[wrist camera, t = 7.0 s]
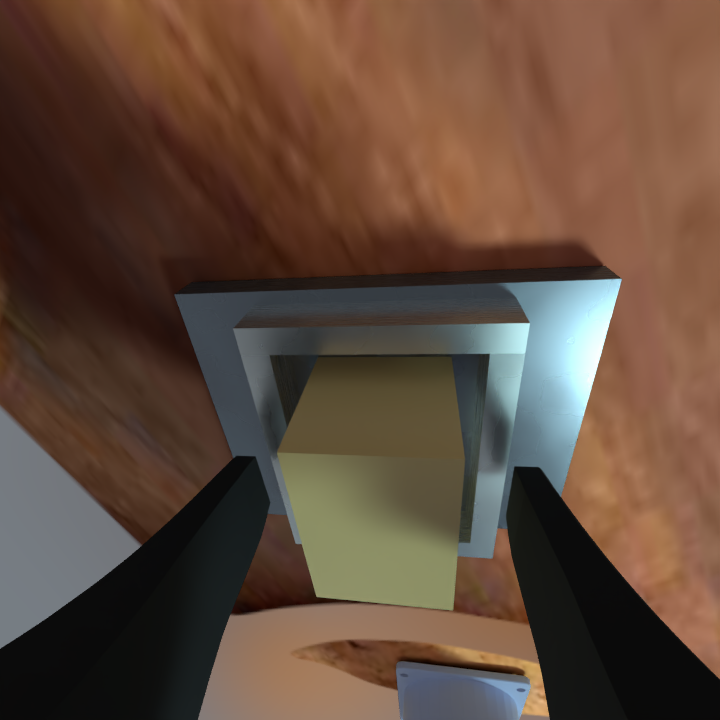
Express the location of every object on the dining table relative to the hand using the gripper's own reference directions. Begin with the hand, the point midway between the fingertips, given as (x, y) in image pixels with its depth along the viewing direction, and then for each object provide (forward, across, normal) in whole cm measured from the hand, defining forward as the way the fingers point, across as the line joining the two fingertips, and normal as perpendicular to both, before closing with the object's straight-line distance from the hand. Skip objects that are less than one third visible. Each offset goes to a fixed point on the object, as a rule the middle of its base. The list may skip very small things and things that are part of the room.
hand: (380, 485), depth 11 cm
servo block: (+2, 0, 0) cm, 2 cm away
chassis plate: (+3, 0, 0) cm, 3 cm away
